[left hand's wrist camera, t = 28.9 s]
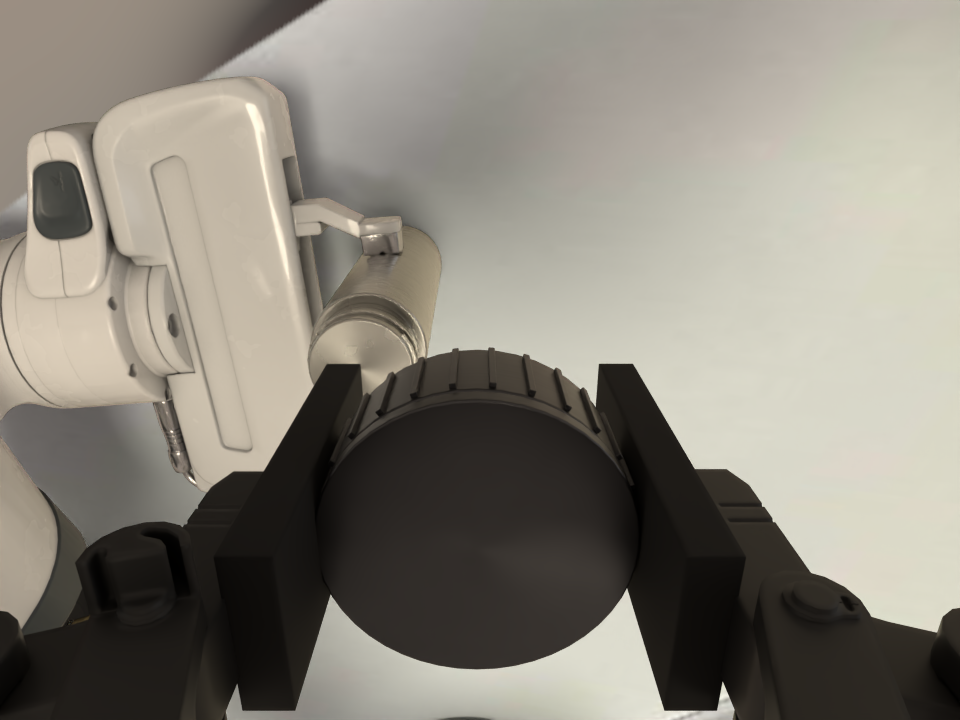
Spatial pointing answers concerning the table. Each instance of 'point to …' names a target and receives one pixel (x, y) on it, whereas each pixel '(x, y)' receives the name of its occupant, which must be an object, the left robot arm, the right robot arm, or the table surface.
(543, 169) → the table surface
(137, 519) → the table surface
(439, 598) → the lid
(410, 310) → the beige long cylinder
